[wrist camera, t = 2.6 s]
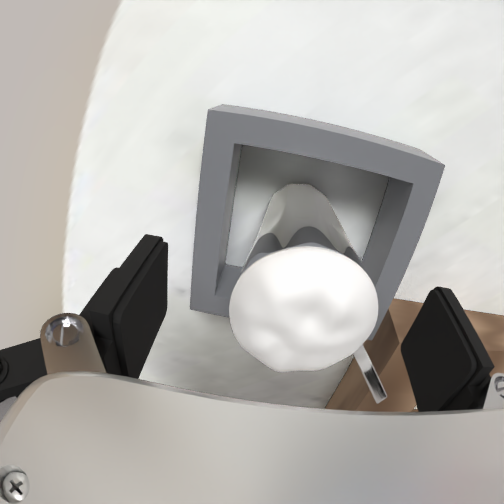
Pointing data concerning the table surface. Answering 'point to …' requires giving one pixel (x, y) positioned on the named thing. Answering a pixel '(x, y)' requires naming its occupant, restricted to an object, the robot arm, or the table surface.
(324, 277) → the milkshake
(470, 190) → the table surface
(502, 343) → the socket block
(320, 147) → the grey square frame
